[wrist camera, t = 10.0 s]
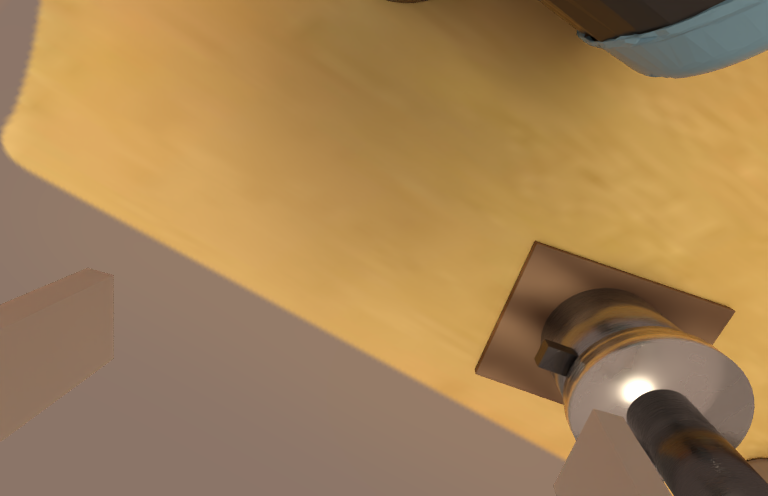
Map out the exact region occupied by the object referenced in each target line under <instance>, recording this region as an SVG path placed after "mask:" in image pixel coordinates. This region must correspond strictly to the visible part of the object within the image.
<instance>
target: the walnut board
mask: <svg viewBox="0 0 768 496" xmlns="http://www.w3.org/2000/svg"><path fill="white" fill-rule="evenodd" d="M597 288H615V289H621V290H625V291H628V292H630V293H633V294H635V295H637V296H639V297H640V298H642V299H643V300H644V301H646V302H647V303H648V304H649V305H651V306H652V307H653V308H654V309H656V310H657V311H658V312H659V313H661V314H662V315H663V316H664V317H665V318H667V319H668V320H669V321H670V322H672V323H673V324H674V325H675V326H677V327H678V328H679V329H680V330H681V331H683V332H685V333H688V334H691V335H694V336H696V337H698V338H701V339H703V340H704V341H706V342H708V343H710V344H711V345H713V343H714V342H715V340H716V339H717V338H718V336H719V335H720V333H721V332H722V330H723V329H724V327H725V326H726V324H727V323H728V321H729V320H730V319H731V317H732V316H733V314H734V313H735V311H734V310H733V309H731V308H729V307H726V306H724V305H721V304H718V303H715V302H712V301H709V300H706V299H703V298H700V297H697V296H694V295H691V294H688V293H685V292H683V291H680V290H677V289H674V288H671V287H668V286H665V285H662V284H659V283H656V282H653V281H650V280H647V279H645V278H642V277H639V276H636V275H633V274H630V273H627V272H624V271H621V270H618V269H615V268H612V267H609V266H606V265H604V264H601V263H598V262H595V261H592V260H589V259H586V258H583V257H580V256H577V255H574V254H571V253H568V252H565V251H563V250H560V249H557V248H554V247H551V246H548V245H545V244H542V243H539V242H536V241H535V242H534V244H533V247H532V249H531V251H530V253H529V255H528V257H527V259H526V262H525V264H524V266H523V268H522V270H521V272H520V274H519V276H518V279H517V281H516V283H515V285H514V287H513V289H512V291H511V294H510V296H509V298H508V300H507V302H506V304H505V306H504V309H503V311H502V313H501V315H500V317H499V319H498V321H497V323H496V326H495V328H494V330H493V332H492V334H491V336H490V338H489V341H488V343H487V345H486V347H485V349H484V351H483V353H482V356H481V358H480V360H479V362H478V364H477V366H476V368H475V372H476V374H477V375H480V376H483V377H486V378H489V379H492V380H494V381H497V382H500V383H503V384H506V385H509V386H512V387H515V388H517V389H520V390H523V391H526V392H529V393H532V394H535V395H537V396H540V397H543V398H546V399H549V400H552V401H555V402H558V403H560V404H563V405H564V403H563V397H562V395H561V393H560V391H559V389H558V387H557V385H556V383H555V381H554V379H553V377H552V375H551V373H550V371H548V370H545V369H542V368H539V367H538V366H537V364H536V362H535V359H534V358H535V356H536V354H537V352H538V350H539V348H540V346H541V334H542V330H543V327H544V325H545V322H546V321H547V319H548V317H549V316H550V314H551V313H552V312H553V311H554V309H556V308H557V307H558V306H559V305H560V304H561V303H562V302H564V301H565V300H566V299H568V298H570V297H572V296H574V295H576V294H578V293H580V292H584V291H587V290H591V289H597Z"/></svg>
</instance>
